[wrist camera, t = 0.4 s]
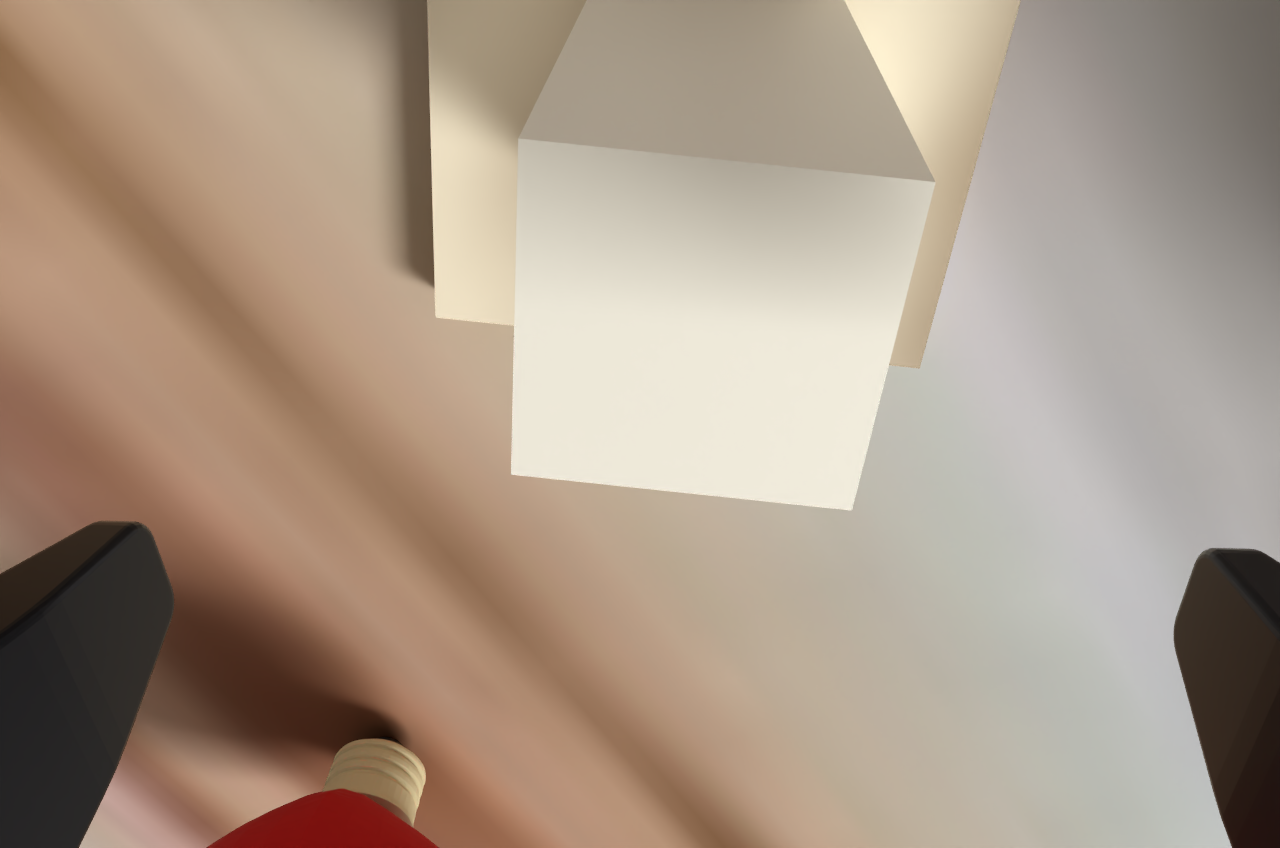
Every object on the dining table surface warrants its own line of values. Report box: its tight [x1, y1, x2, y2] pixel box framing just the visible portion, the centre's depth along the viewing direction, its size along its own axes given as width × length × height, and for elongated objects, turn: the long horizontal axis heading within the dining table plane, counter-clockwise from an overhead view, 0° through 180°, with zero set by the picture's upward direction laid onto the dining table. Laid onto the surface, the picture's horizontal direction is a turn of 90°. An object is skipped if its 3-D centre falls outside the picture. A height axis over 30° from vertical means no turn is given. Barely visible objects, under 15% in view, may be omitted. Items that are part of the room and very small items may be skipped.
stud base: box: [427, 0, 1021, 368], centre depth 17 cm, size 10×10×5 cm
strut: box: [511, 0, 936, 510], centre depth 15 cm, size 4×4×9 cm
